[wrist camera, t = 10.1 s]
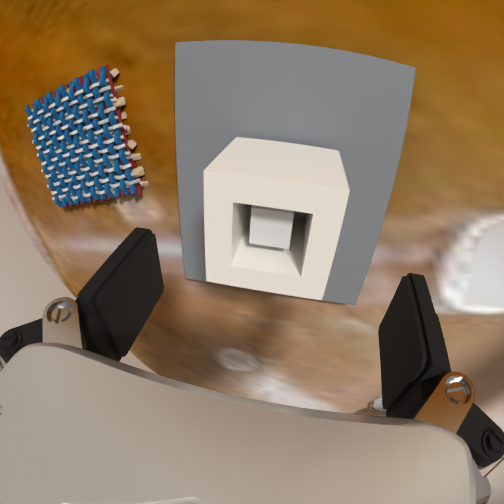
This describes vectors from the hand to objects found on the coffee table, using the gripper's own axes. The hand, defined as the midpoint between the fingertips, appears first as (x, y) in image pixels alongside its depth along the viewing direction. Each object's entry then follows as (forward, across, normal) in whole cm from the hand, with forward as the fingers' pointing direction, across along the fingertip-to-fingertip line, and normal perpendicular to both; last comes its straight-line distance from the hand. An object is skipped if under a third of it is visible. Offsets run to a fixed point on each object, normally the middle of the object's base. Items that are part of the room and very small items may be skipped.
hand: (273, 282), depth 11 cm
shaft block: (+11, +1, 0) cm, 11 cm away
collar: (+9, +1, 0) cm, 9 cm away
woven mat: (+11, +17, -2) cm, 20 cm away
